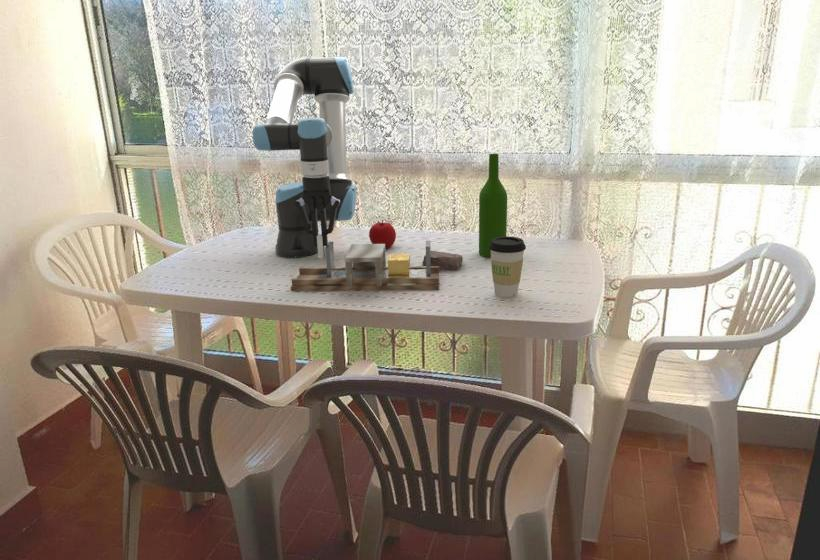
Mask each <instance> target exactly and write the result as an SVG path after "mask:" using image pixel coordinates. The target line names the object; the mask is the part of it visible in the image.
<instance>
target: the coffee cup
mask: <svg viewBox="0 0 820 560" xmlns="http://www.w3.org/2000/svg"><path fill="white" fill-rule="evenodd" d="M526 247H527V246H526V243H525V242H524V239H522V238H520V237H517V236H507V235H506V237H497V238H494V239H492V240H491V243H490V244H489V249H490V251H491V258H490V265H491V273H492V274H491V275H492V282H493V287H494V295H495V296H497V297H500V298H513V297H517V296H518V293H519V285H520V282H521V276H522V271H523V263H524V252H525V250H526Z"/></svg>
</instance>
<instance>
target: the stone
mask: <svg viewBox="0 0 820 560" xmlns="http://www.w3.org/2000/svg"><path fill="white" fill-rule="evenodd" d="M463 256H464V255H461V254H458V253H451V252H445V251H437V250H431V266H439V270H443V271H454V272H455V271H459V270H460V269H461V267H462V263H463ZM421 263H422V266H426V254H425V255H424V256H423V260H422V262H421Z"/></svg>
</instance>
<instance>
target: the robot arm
mask: <svg viewBox="0 0 820 560" xmlns="http://www.w3.org/2000/svg"><path fill="white" fill-rule="evenodd" d="M273 84H274V85H273V88H274V93H273V96H272V99H271V102H270V106H269V109H268V112H267V115H266V118H265V121H264V123H257V124H255V125H254V126H253V128H252V141H253V145H254V148H255V149H256V150H257V151H265V152H271V151H272V152H273V151H274V152H275V151H299V155H300V169H301V175H302V178H301V181H298V182H293V183H292V182H291V183H288V184H284V185H282V186H279V187H278V188H277V189H276V190H275V205H276V215H277V225H278V234H277V239H276V244H275V255H277V256H279V257H282V258H303V257H308V256H312V255H315V254H317V256H318V257H317V258H318V259H324V258H325V257H326V253H325V247H326V246H327V244H328V243H329V240H328V235H329V234H332V233H333V231H334V229H335V228H334V227H335V223H336V222H341V221H350V220H352V219H353V217H354V216H355V212H356V207H357V204H356V203H357V186H356V185H354V184H353V182H352V181H353V180H352V179H351V178H350V177H349V176H348V167H347V166H348V165H347V163H348V162H347V161H348V160H347V132H346V131H347V130H346V129H347V126H346V103H348V101H350V95H352V94H354V93H355V92H354V91H355V88H354V81H353V74H352V70H351V66H350V62H349V59H347V58H346V57H343V56H341V57H339V56H329V57H328V56H327V57H325V56H324V57H301V58H298V59H295V60H293V61H291V62H289V63H287V64H286V65H285V66H284V67H282V69H281V70H280V71H279V72H278V74H277V75H276V77H275V79H274V83H273ZM304 95H314V97H313V98H314V100H315V101H316V102H317V104H318V105H319V106H318V107H319V112H318V113H319V117H306V118H305V117H303V118H300V119H298V121H297V122H296V123H295V122H294V123H293V120H294V116H295V113H296V112H295V111H296V109H297V104H298V103H299V102H298V101H299V99H300V98H301V97H302V96H304ZM319 222H320V230H321V233H319V232H320V231H319ZM327 222H329V223H327Z"/></svg>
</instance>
